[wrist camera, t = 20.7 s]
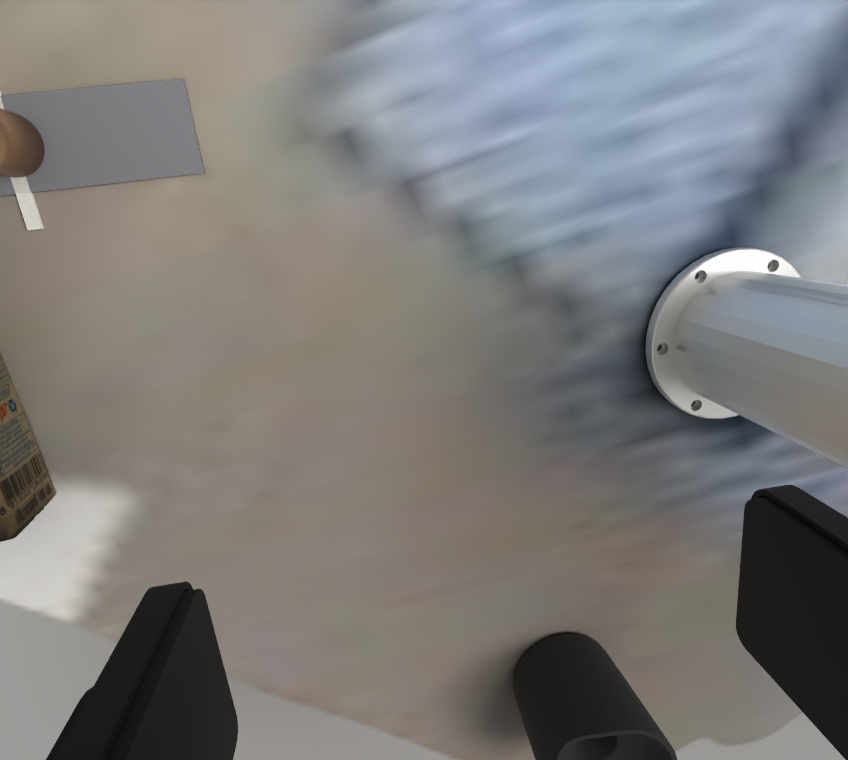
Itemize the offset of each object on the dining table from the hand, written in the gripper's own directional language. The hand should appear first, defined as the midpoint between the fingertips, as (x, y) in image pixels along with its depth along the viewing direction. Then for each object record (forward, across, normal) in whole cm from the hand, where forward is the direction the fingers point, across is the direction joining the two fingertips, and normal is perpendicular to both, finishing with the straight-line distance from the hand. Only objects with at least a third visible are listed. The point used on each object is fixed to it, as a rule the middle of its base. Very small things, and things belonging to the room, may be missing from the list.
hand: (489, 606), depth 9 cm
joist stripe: (+28, +18, -12) cm, 35 cm away
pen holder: (+30, -11, +33) cm, 46 cm away
